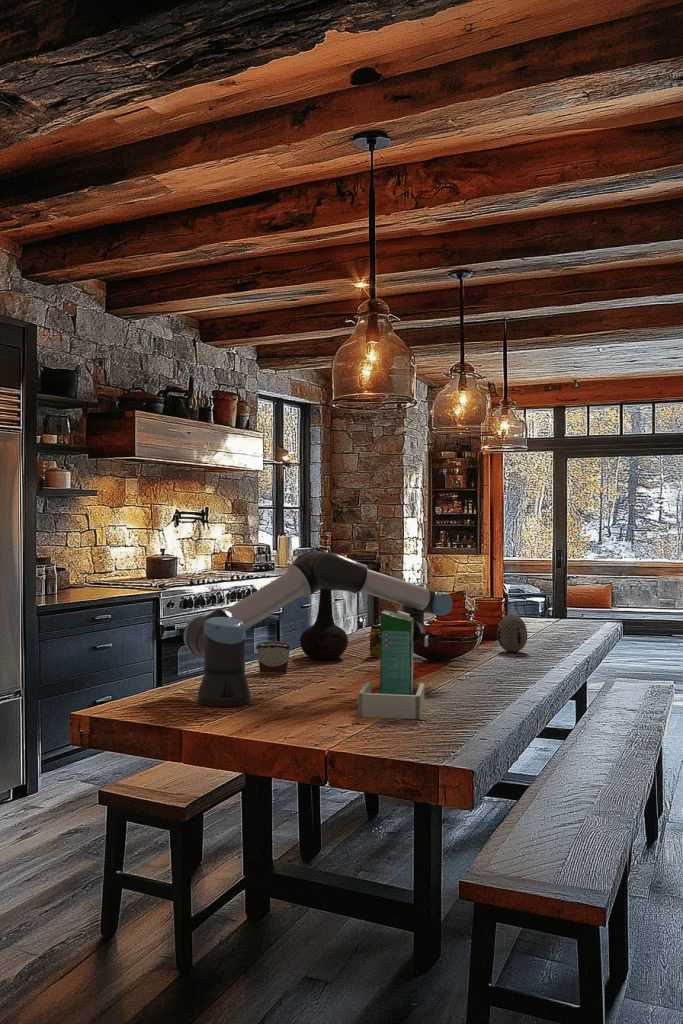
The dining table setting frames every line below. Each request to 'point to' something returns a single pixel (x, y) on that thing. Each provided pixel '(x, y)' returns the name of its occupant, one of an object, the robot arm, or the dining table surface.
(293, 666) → the dining table surface
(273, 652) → the food container
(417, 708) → the box
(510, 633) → the decorative egg
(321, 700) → the dining table surface
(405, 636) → the milk carton
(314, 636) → the glass bottle
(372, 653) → the condiment
